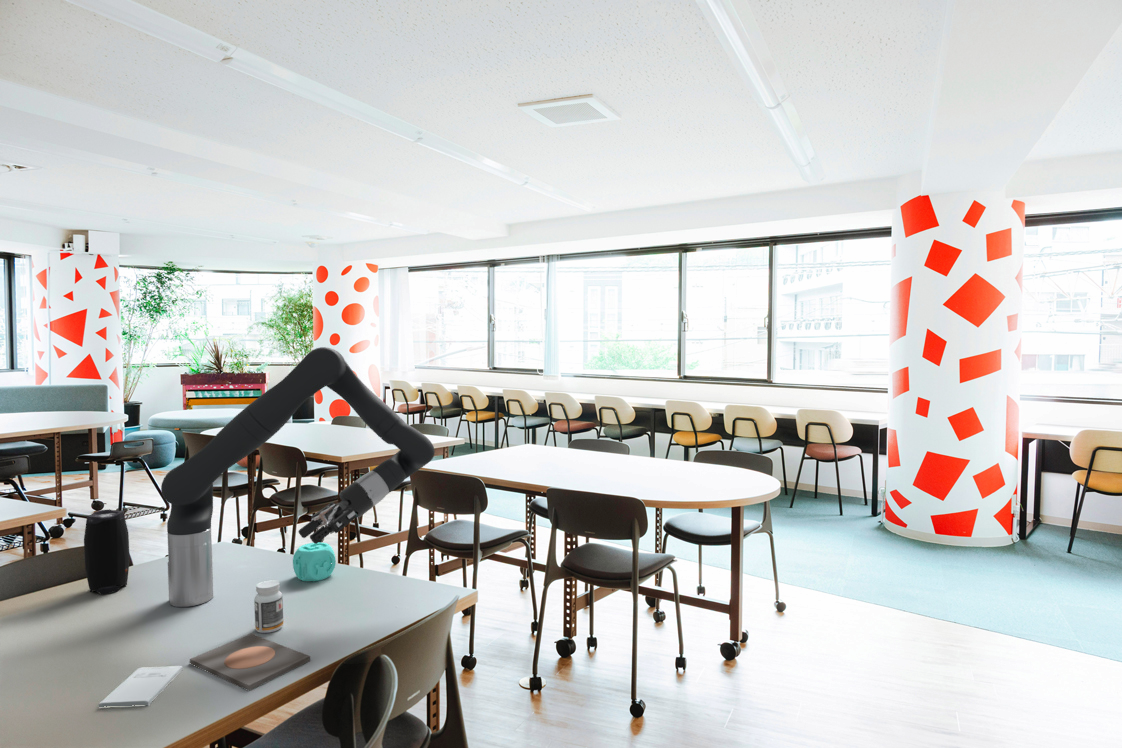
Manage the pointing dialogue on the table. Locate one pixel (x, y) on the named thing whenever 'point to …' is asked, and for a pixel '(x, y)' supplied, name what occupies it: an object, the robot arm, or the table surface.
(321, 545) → the decorative dice
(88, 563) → the portable speaker
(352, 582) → the table surface
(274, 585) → the pill bottle
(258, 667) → the dark grey flat slab
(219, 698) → the table surface
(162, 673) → the external hard drive
